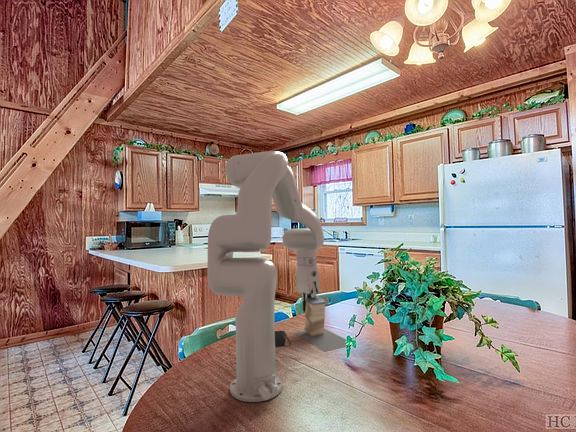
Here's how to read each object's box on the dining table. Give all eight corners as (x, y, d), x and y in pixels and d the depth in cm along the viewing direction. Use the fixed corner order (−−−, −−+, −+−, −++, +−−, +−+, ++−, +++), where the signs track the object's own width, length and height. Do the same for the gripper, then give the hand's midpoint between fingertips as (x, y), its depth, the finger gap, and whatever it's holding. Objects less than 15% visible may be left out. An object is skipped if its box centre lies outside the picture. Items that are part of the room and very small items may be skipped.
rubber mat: (355, 346, 102) (355, 344, 102) (324, 353, 96) (324, 351, 96) (321, 328, 120) (321, 327, 120) (293, 334, 114) (293, 332, 114)
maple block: (323, 333, 112) (325, 301, 111) (311, 336, 110) (313, 303, 109) (316, 328, 117) (317, 296, 115) (304, 330, 114) (306, 298, 113)
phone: (283, 330, 117) (291, 345, 102) (284, 333, 117) (291, 348, 102) (262, 332, 115) (267, 347, 101) (262, 335, 115) (267, 350, 101)
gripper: (326, 262, 113) (327, 314, 112) (305, 259, 126) (306, 305, 125) (308, 264, 109) (309, 317, 109) (288, 260, 122) (289, 308, 122)
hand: (307, 311), depth 117 cm, fingers closed
